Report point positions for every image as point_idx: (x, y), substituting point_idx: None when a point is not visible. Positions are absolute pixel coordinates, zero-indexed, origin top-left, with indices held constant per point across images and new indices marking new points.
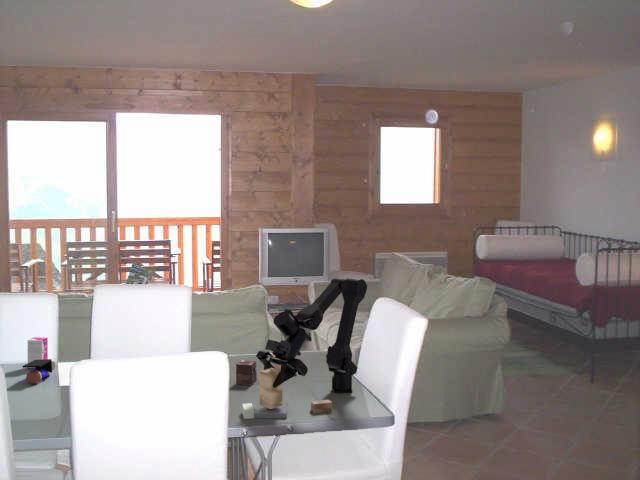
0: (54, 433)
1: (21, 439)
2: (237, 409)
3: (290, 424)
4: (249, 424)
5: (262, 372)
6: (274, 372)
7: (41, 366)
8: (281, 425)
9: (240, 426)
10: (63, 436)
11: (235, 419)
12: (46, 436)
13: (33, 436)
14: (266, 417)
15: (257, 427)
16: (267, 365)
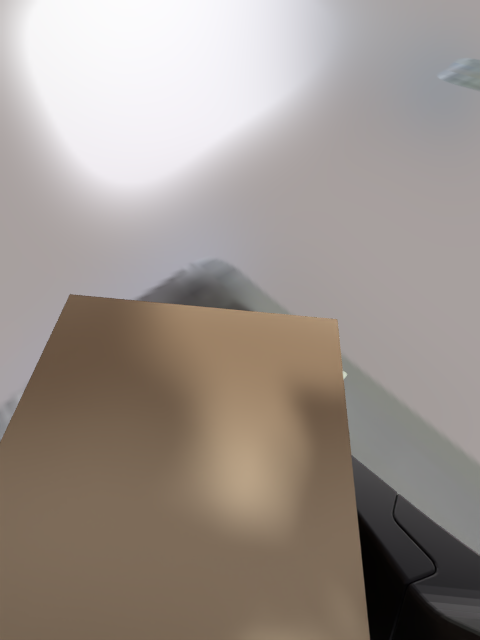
0: (474, 81)
1: (470, 59)
2: (389, 410)
3: (16, 406)
4: (190, 301)
5: (260, 318)
6: (35, 390)
7: None
8: None
9: (205, 271)
10: (447, 81)
11: (279, 310)
12: (464, 73)
13: (476, 68)
14: None
15: (141, 296)
16: (461, 630)
